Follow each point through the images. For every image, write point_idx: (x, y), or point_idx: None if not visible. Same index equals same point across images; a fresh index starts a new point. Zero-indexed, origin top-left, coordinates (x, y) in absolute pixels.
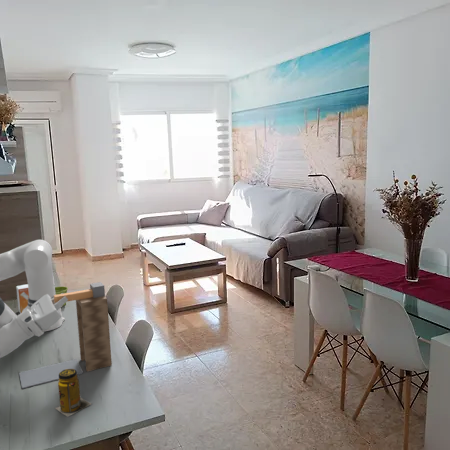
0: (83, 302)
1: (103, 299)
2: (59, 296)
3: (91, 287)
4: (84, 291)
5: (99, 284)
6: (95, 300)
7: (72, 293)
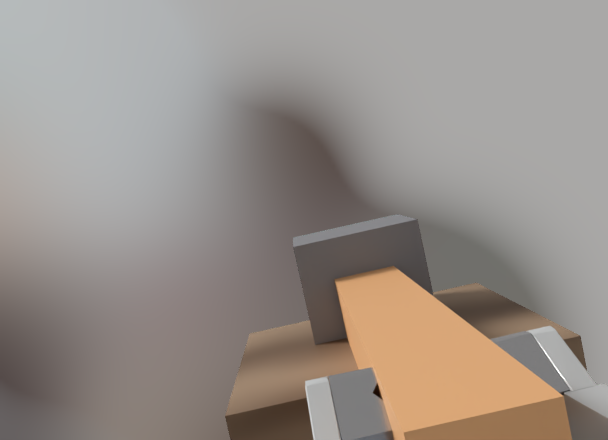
0: (560, 330)
1: (488, 290)
2: (517, 364)
3: (351, 255)
4: (389, 282)
5: (353, 226)
6: (511, 301)
7: (418, 309)
